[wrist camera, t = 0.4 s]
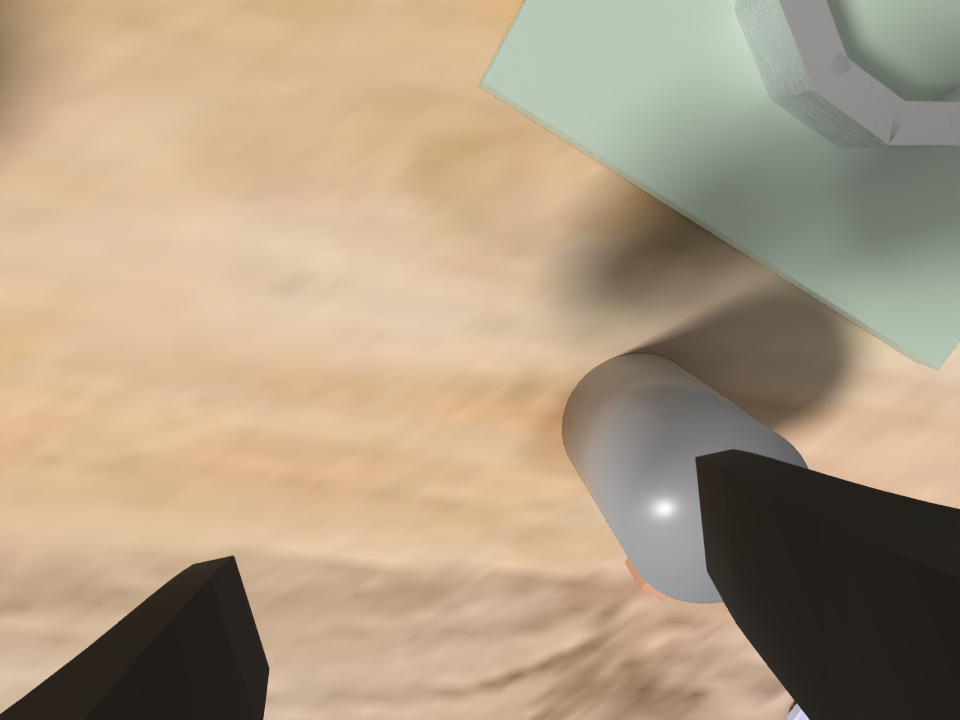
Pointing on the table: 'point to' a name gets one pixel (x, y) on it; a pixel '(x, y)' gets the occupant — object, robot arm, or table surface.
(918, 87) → the plate
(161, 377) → the table surface
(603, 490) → the grey rounded block
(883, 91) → the duct collar
